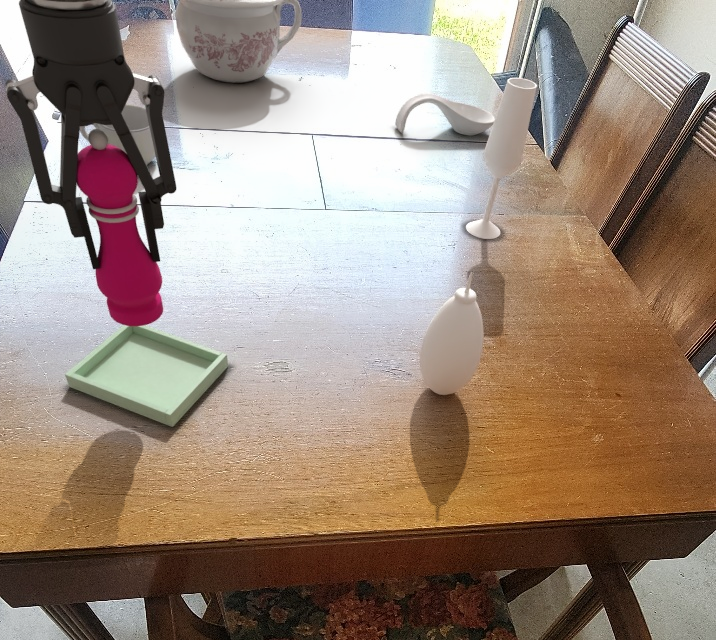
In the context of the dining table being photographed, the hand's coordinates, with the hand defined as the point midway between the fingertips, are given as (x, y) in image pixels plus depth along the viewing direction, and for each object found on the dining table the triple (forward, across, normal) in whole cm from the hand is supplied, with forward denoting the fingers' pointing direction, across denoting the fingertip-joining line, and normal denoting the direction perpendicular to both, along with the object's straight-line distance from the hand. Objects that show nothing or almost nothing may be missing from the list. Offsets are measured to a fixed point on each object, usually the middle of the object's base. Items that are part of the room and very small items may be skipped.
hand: (125, 258), depth 68 cm
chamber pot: (+17, +40, +110) cm, 118 cm away
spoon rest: (+17, +81, +69) cm, 108 cm away
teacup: (+17, +7, +65) cm, 68 cm away
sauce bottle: (+17, +37, -13) cm, 43 cm away
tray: (+17, 0, 0) cm, 17 cm away
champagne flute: (+17, +66, +26) cm, 73 cm away
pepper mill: (+7, 0, 0) cm, 7 cm away
